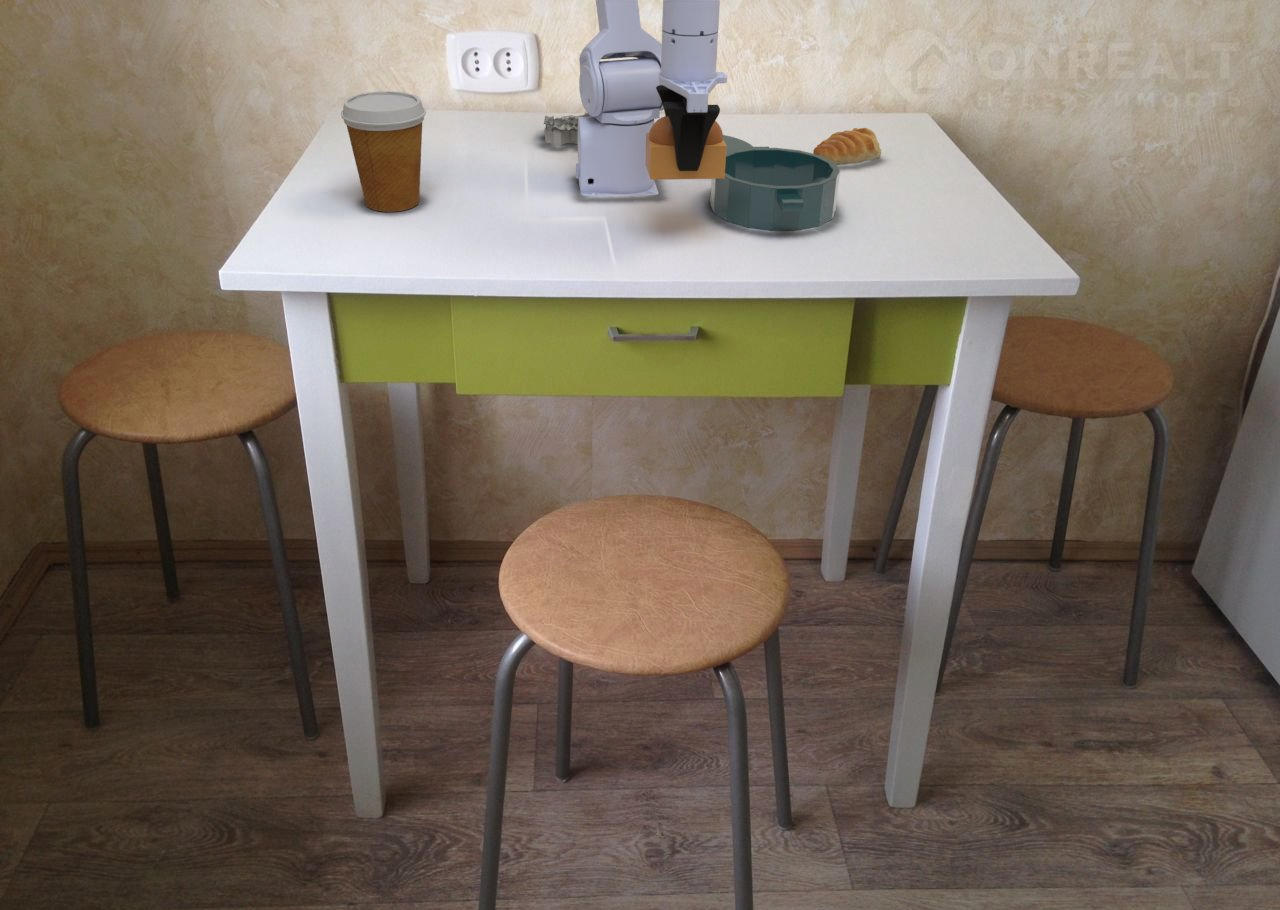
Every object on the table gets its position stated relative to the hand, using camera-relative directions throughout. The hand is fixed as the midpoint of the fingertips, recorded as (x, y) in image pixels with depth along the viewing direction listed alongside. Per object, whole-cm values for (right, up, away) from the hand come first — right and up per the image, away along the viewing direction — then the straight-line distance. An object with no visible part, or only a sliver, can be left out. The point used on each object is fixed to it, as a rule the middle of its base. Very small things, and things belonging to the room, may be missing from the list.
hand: (684, 161), depth 123 cm
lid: (+3, +9, +30) cm, 31 cm away
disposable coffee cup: (-34, -2, +13) cm, 37 cm away
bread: (0, -1, +1) cm, 1 cm away
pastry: (+23, +8, +30) cm, 39 cm away
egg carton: (-13, +11, +35) cm, 39 cm away
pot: (+11, -3, +13) cm, 17 cm away
